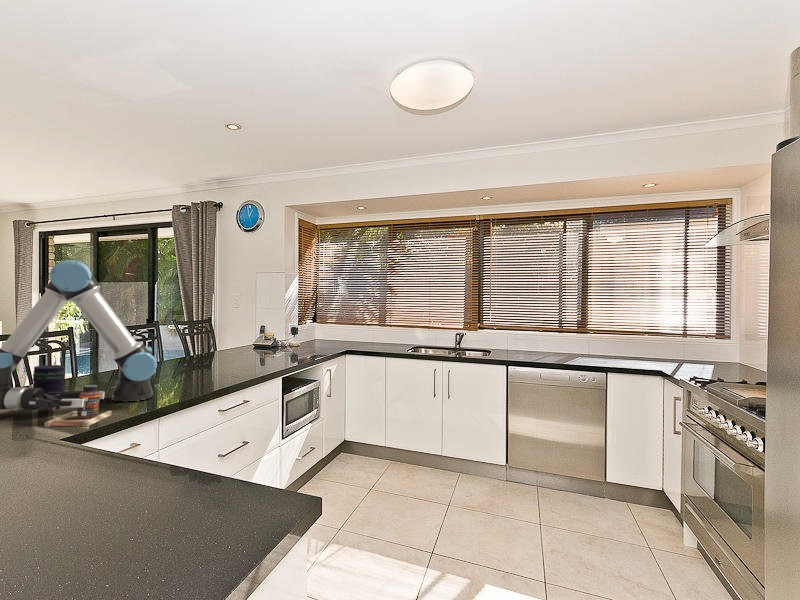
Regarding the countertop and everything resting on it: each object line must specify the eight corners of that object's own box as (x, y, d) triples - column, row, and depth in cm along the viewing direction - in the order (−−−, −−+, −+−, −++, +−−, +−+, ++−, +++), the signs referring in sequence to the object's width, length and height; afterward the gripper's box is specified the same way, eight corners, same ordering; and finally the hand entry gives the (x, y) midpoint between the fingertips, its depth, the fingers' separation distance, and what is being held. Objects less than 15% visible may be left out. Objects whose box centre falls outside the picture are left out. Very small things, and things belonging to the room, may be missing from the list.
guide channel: (73, 414, 147) (73, 411, 147) (111, 414, 149) (111, 411, 149) (44, 426, 131) (44, 422, 131) (86, 426, 134) (87, 422, 134)
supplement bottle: (86, 419, 142) (89, 387, 142) (72, 418, 143) (75, 386, 143) (102, 415, 147) (104, 385, 148) (89, 414, 149) (91, 383, 149)
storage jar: (47, 407, 155) (51, 368, 156) (23, 405, 156) (26, 367, 156) (69, 401, 165) (72, 365, 166) (46, 400, 166) (49, 364, 166)
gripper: (48, 401, 153) (110, 401, 157) (-3, 418, 129) (72, 418, 133) (50, 382, 154) (112, 382, 158) (-1, 395, 129) (74, 395, 133)
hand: (94, 399), depth 145 cm, fingers open, 13 cm apart
